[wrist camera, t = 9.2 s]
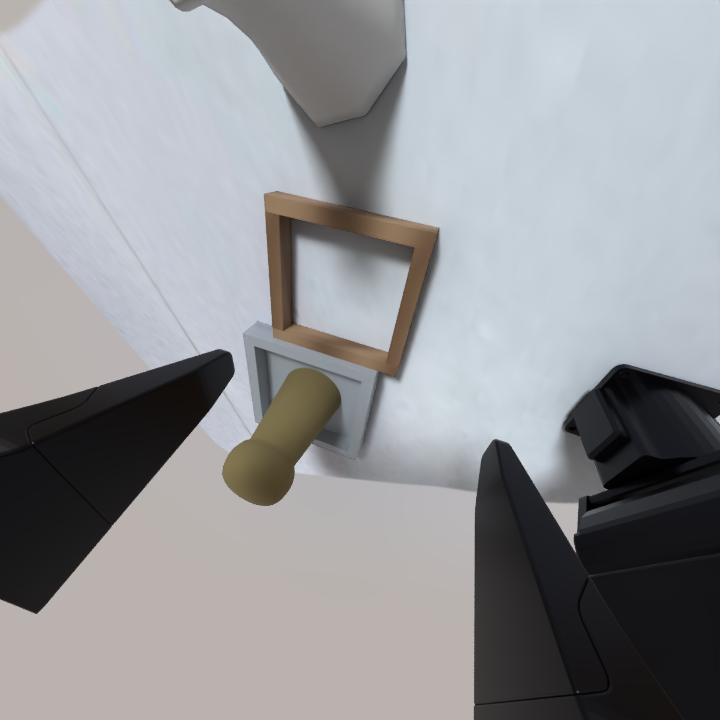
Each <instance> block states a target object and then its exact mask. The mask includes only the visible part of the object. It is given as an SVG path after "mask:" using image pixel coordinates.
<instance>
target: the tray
mask: <svg viewBox="0 0 720 720" xmlns="http://www.w3.org/2000/svg"><path fill="white" fill-rule="evenodd" d="M243 338H244V345H245V352H246V359H247V366H248V373H249V380H250V387H251V395H252V402H253V409H254V416H255V422H256V423H260V422H261V420H262V418H263V417H264V415H265V413H266V412H267V410H268V408H269V406H270V405H271V403H272V401H273V400H274V398H275V396H276V394H277V393H278V391H279V389H280V388H281V386H282V384H283V382H284V381H285V379H286V377H287V376H288V374H289V373H290V372H291V371H293V370H294V369H298V368H311V369H314V370H316V371H319V372H321V373H323V374H324V375H326V376H327V377H329V378H330V379H331V380H332V381H333V382H334V383H335V384H336V386H337V388H338V390H339V391H340V395H341V404H340V407H339V408H338V409H337V411H336V412H335V413H334V415H333V416H332V417H331V418H330V420H329V421H328V422H327V424H326V425H325V426H324V428H323V429H322V430H321V432H320V433H319V434H318V435H317V437H316V438H315V439H314V441H313V442H312V444H314V445H317V446H319V447H322V448H325V449H327V450H330V451H333V452H335V453H338V454H340V455H343V456H346V457H348V458H351V459H354V460H356V459H357V456H358V454H359V451H360V449H361V446H362V443H363V439H364V435H365V431H366V427H367V422H368V418H369V414H370V410H371V406H372V401H373V397H374V393H375V389H376V385H377V380H378V376H379V371H376V370H373V369H369V368H366V367H363V366H360V365H357V364H354V363H351V362H348V361H345V360H341V359H338V358H335V357H332V356H329V355H326V354H323V353H320V352H317V351H313V350H310V349H307V348H304V347H301V346H298V345H295V344H292V343H289V342H285V341H282V340H279V339H276V338H273V328H272V326H270V325H267V324H264V323H261V322H257V323H255V324H254V325H253V326H251V327H250V328H249V329H248V330H246V331H245V332H244V333H243Z"/></svg>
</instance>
